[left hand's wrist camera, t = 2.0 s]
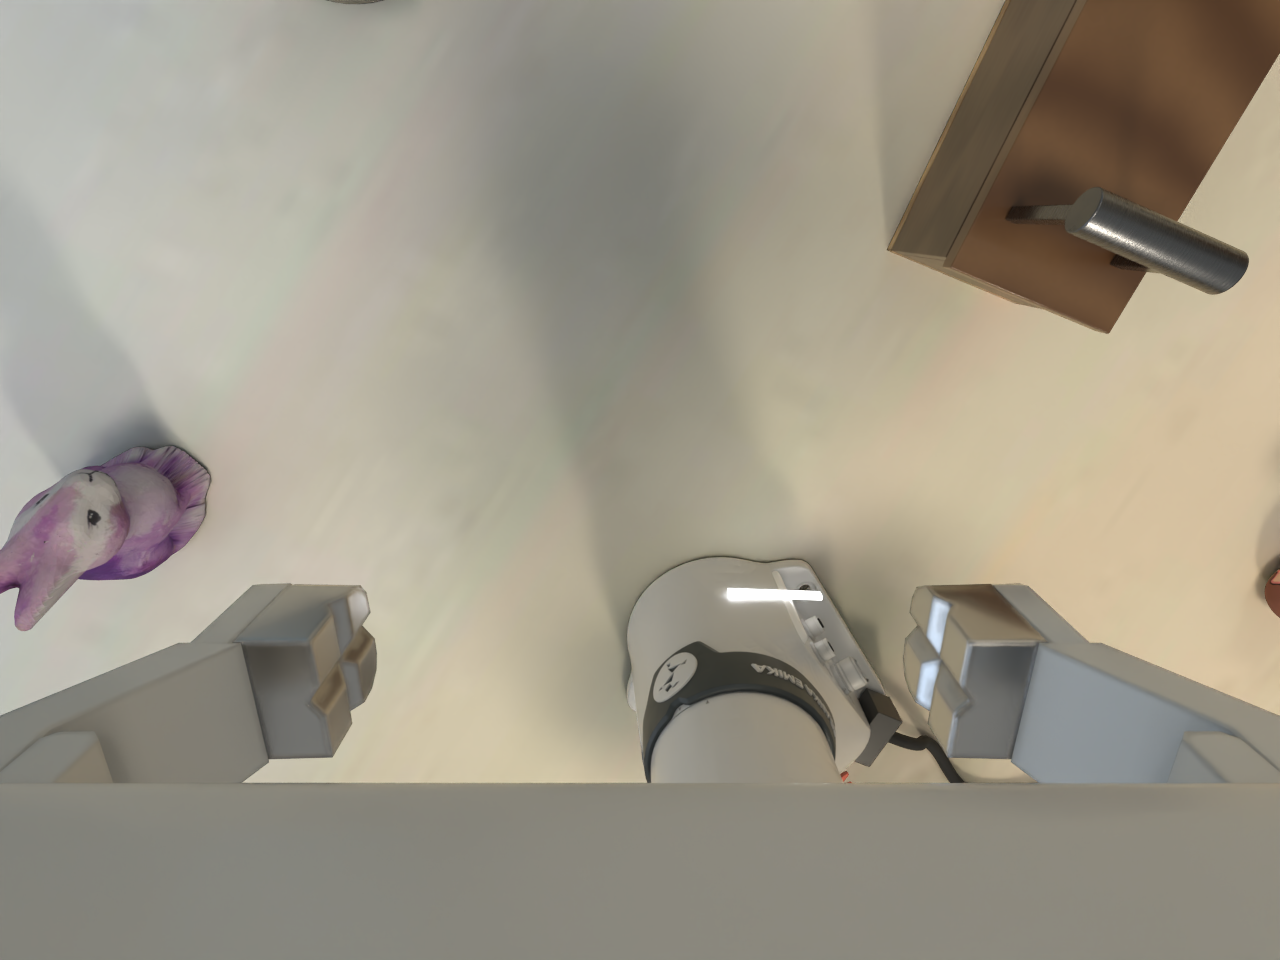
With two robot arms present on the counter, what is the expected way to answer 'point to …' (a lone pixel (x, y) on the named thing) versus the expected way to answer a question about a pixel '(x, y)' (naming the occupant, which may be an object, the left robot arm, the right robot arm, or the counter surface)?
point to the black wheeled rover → (1273, 592)
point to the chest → (979, 132)
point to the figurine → (102, 526)
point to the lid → (1118, 156)
